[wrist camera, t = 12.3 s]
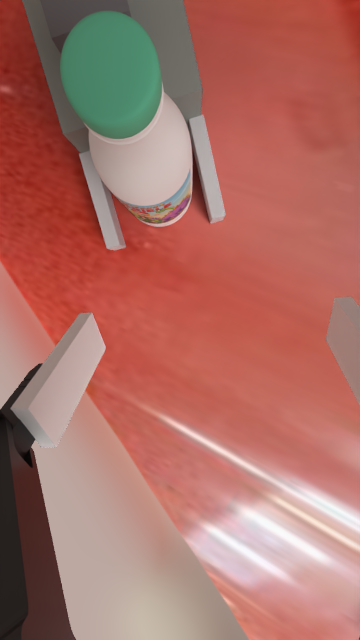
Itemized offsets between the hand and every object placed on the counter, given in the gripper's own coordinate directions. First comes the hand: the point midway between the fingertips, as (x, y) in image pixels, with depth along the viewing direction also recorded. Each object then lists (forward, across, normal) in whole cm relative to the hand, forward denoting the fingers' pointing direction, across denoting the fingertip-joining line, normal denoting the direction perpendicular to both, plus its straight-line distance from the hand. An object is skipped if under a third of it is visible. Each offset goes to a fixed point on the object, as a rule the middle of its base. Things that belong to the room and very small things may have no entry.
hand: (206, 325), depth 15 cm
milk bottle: (+22, -6, +4) cm, 23 cm away
